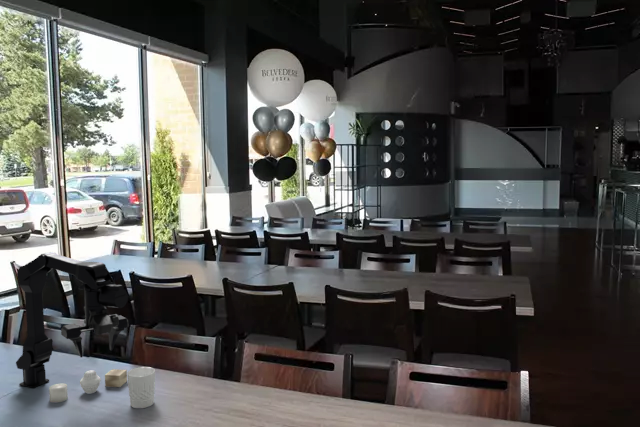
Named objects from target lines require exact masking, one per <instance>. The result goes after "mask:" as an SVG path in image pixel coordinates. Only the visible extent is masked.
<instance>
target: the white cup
mask: <svg viewBox="0 0 640 427" xmlns="http://www.w3.org/2000/svg"><path fill="white" fill-rule="evenodd" d="M155 382H156V369H155V368H153V367H150V366H141V367H135V368H132V369H130V370H128V371H127V384H128V395H129V396H128V397H129V402H130V407H132V408H134V409H144V408H149V407H151V406H152V405H154V401H155V391H156V390H155V389H156V388H155V386H156V383H155Z"/></svg>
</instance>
